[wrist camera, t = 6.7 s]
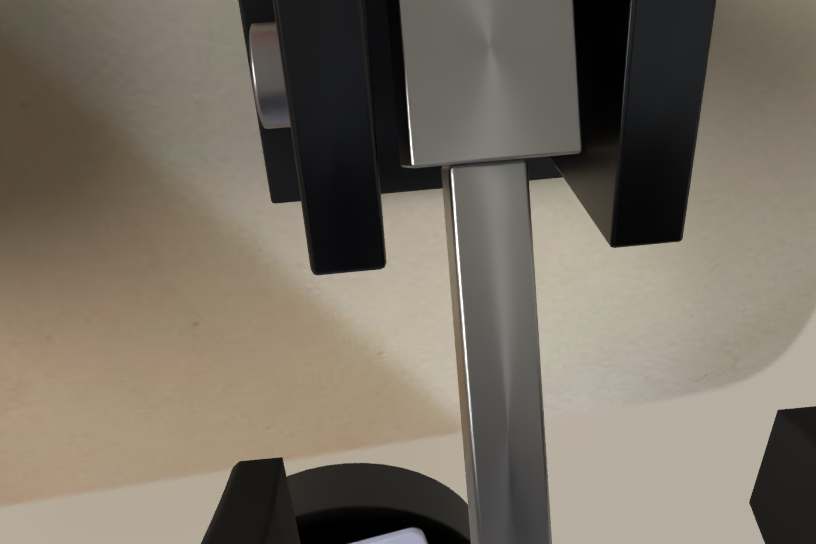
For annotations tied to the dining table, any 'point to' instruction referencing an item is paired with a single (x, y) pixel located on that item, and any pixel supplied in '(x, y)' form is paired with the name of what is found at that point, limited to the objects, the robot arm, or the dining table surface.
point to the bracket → (382, 172)
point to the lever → (491, 220)
